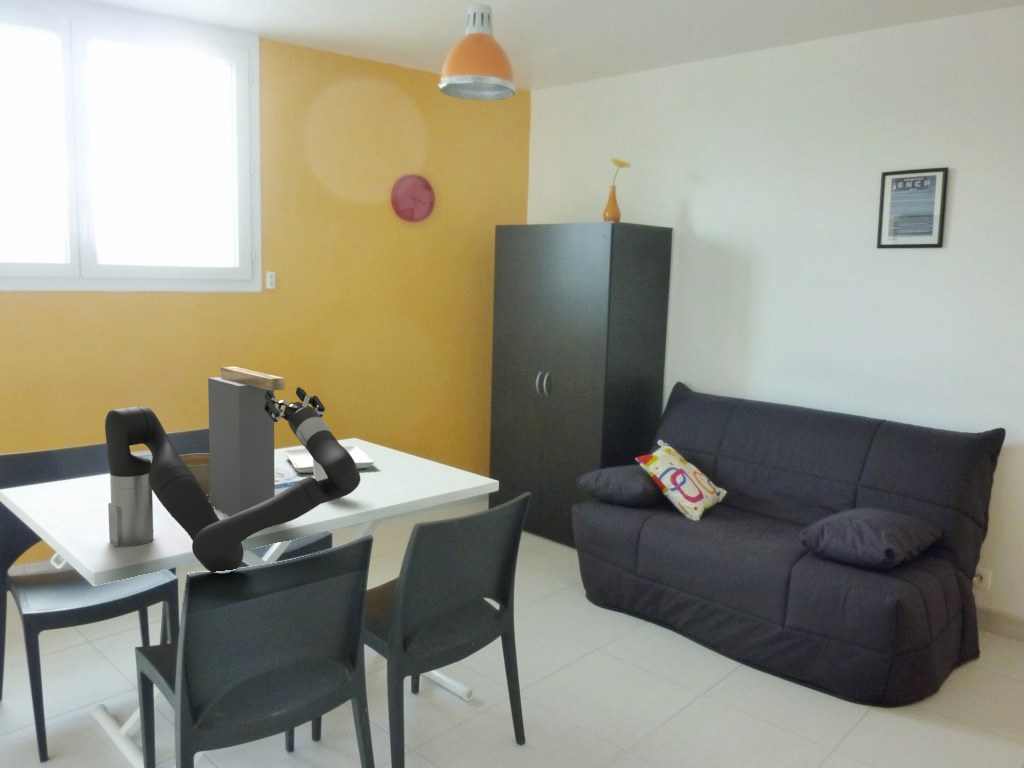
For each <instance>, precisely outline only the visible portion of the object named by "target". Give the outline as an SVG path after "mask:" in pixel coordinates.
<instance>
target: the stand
mask: <svg viewBox="0 0 1024 768" xmlns="http://www.w3.org/2000/svg"><path fill="white" fill-rule="evenodd" d="M207 385H208V388H207V389H208V396H207V397H208V437H209V438H208V439H209V440H208V442H209V443H208V445H209V447H208V448H209V449H208V450H209V455H210V495H209V499H210V500H209V501H210V503H211V505H212V506H213V508H214V507H215V508H214V509H216V508H217V509H216V510H218V509H219V510H218V511H220V510H221V511H220V512H221V513H223V512H224V513H223V514H225V513H226V515H227V514H228V515H227V516H229V515H230V516H232V515H235V514H237V513H239V512H242V511H244V510H246V509H249V508H251V507H253V506H255V505H258V504H260V503H262V502H264V501H266V500H268V499H270V498H272V497H274V496H276V490H275V485H276V484H275V481H276V479H275V478H276V477H275V422H274V421H273V420H272V419H271V417H270V416H269V415H268V414H267V412H266V411H265V410H264V406H265V402H266V399H265V397H264V396H265V393H266V391H267V390H266V389H262V388H258V387H254V386H251V385H247V384H243V383H239V382H235V381H231V380H227V379H223V378H221V376H219V377H218V376H217V377H208V379H207ZM271 392H272V393H273V395H274V396H275V390H273V391H271ZM230 516H229V517H230Z"/></svg>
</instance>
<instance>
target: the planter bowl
mask: <svg viewBox="0 0 1024 768" xmlns="http://www.w3.org/2000/svg"><path fill="white" fill-rule="evenodd" d="M179 455H180V454H179ZM180 457H181V458H182V460H183V461H184V463H185V464H186V465H187V466H188V468H189V469H190V470H191V472H192V473H193V475H194V476H195V478H196V479H197V480H198V482H199V484H200V485H201V487H202V489H203V490H204V492H205V494H206V496H207V497H210V455H209V453H208V452H203V453H200V452H199V453H188V454H181V455H180Z"/></svg>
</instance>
